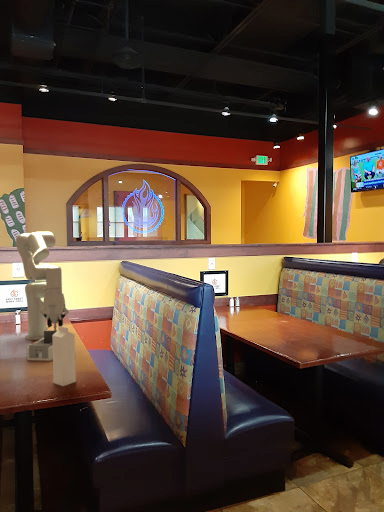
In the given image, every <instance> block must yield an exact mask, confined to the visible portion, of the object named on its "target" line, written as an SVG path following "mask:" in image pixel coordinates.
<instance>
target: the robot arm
mask: <svg viewBox="0 0 384 512" xmlns="http://www.w3.org/2000/svg"><path fill="white" fill-rule="evenodd" d="M55 244H56V237H55V235H54V233H53V232H51V231H35V232H24V233H20V234H18V235H17V236H16V239H15V245H16V249H17V251H18V254H19V256H20V258H21V261H22V266H23V271H24V276H25V278H26V279H27V280H28V281H30V282H28V283H27V284H26V285H25V287H24V291H25V296H26V304H27V308H26V309H27V334H26V335H25V339H26V340H28V341H35V340H36V341H38V340H40V339H42V338H44V331H49V329H50V328H51V327H52V326H53V323H52V321H51V320H50V317H49V314H50V308H49V307H48V306H56V307H55V308H54V309H55V314H59V320H58V322H57V323H58V326H57V327H58V328H59V326H62V327H63V325H64V318H65V317H66V316H67V315H69V314H70V311H69V310H68V309H67V307H66V301H65V300H66V298H65V295H64V293H63V276H62V267H60V266H58V265H56V264H51V263H48V262H46V263H45V262H44V263H40V262H41V261H44V260H46V259H47V258H48V257H49V256H50V250H49V248H53V247H54V246H55ZM42 299H43V300H42Z"/></svg>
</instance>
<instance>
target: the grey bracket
mask: <svg viewBox="0 0 384 512" xmlns="http://www.w3.org/2000/svg"><path fill="white" fill-rule="evenodd" d="M39 350H42V351H41V352H40V353H37V351H39ZM26 360H27V361H48V362H49V361H53V345H51V344H44V338H42V339H39V340H36V341H35V342H33V343H30V344H29V345H28V346H27V347H26Z"/></svg>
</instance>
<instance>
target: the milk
mask: <svg viewBox="0 0 384 512" xmlns="http://www.w3.org/2000/svg"><path fill="white" fill-rule="evenodd" d="M75 337H76V336H75V334H74V333H71V332H70V331H69V328H68V327H65V326H63V325H62V326H59V327H58V330H57V332H56V333H54V334H53V335H52V341H53V359H52V373H53V374H52V375H53V384H55V385H57V386H61V387H65V386H68V385H70V384H73V383H76V380H77V379H76V377H77V376H76V347H75V345H76V343H75Z"/></svg>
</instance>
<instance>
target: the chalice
mask: <svg viewBox="0 0 384 512" xmlns="http://www.w3.org/2000/svg"><path fill="white" fill-rule="evenodd" d="M48 307H49V308H50V314H49V317H50V320H51V321H52V324H53V331H58V330H57V327H58V326H57V323H58V320H59V314H55V309H54V308H55V307H56V306H48Z"/></svg>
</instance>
